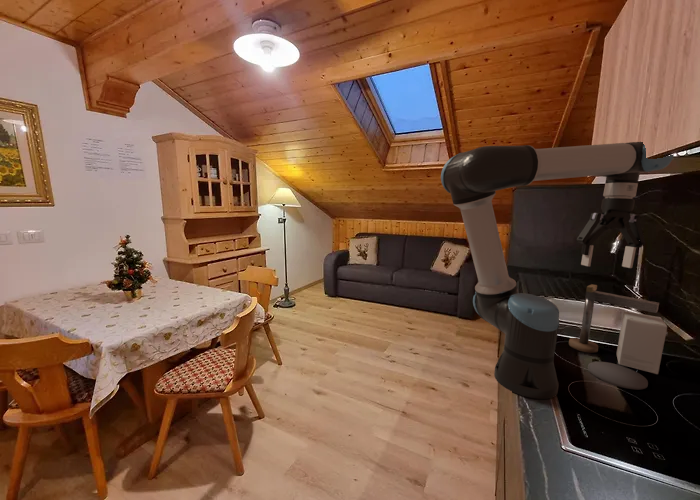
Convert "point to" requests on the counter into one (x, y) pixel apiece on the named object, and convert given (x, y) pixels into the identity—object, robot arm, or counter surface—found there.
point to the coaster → (618, 375)
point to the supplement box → (641, 341)
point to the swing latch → (613, 299)
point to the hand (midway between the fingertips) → (606, 266)
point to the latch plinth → (583, 345)
